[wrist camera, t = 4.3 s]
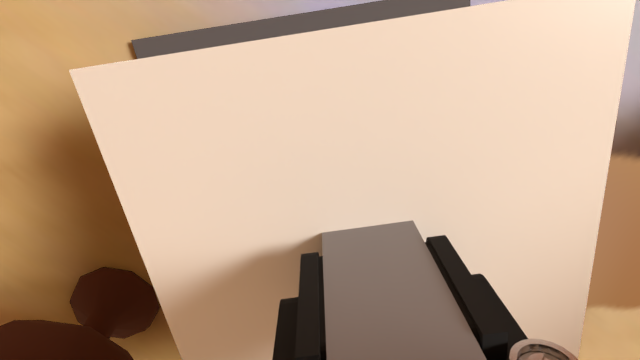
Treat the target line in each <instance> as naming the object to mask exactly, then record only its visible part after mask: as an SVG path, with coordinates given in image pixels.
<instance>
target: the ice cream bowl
mask: <svg viewBox="0 0 640 360" xmlns="http://www.w3.org/2000/svg"><path fill="white" fill-rule="evenodd" d="M70 304H71V306H72V308H73V311H74V313H75V315H76V318H77V320H78V322H80V323H81V324H83V326H81V325H74V324H66V323H58V322H51V321H43V320H14V321H12V322H9V323H7V324H4V325H2V326H0V360H134V359H133V358H132V357H131V355H130V354H129V353H128V351H126V350H125V349H123V348H122V347H120V346H119V345H117V344H116V343H114V342H113V341H111V340H110V339H109V338H110V337H116V338H126V337H129V336H132V335H134V334H137V333H139V332H142V331H144V330H146V329H147V328H148V327H149V326H150V325H151V323H152V321H153V319H154V317H155V316H156V314H157V312H158V310H159V305H158V302H157V298H156V295H155V292H154V289H153V287H152V286H150V285H149V284H148V283H147V282H145V281H144V280H143V279H141V278H140V277H139V276H137V275H136V274H135V273H133V272H132V271H126V270H119V269H112V268H106V267H103V268H100V269H98V270H96V271H93V272H91V273H88V274H86V275H83V276H81V277H80V279H79V281H78V283H77V286H76V288H75V290H74V292H73V295H72V297H71V300H70Z"/></svg>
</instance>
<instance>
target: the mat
mask: <svg viewBox="0 0 640 360" xmlns="http://www.w3.org/2000/svg"><path fill="white" fill-rule="evenodd" d="M469 6H470V0H383V1H377V2H370V3H364V4H358V5H351V6H345V7H339V8H332V9H326V10H320V11H313V12H307V13H301V14H295V15H288V16H282V17H276V18H269V19H263V20H257V21H250V22H244V23H238V24H231V25H225V26H219V27H212V28H206V29H200V30H193V31H187V32H181V33H174V34H168V35H162V36H156V37H149V38H143V39H137V40H131V41H132V44H133V47H134V50H135V54H136V57H137V59H141V58H147V57H154V56H160V55H166V54H173V53H179V52H185V51H192V50H198V49H204V48H211V47H217V46H223V45H229V44H236V43H242V42H248V41H255V40H261V39H267V38H274V37H280V36H286V35H293V34H299V33H305V32H312V31H318V30H324V29H331V28H337V27H343V26H349V25H356V24H362V23H368V22H375V21H381V20H387V19H394V18H400V17H406V16H413V15H419V14H425V13H432V12H438V11H444V10H451V9H457V8H463V7H469Z"/></svg>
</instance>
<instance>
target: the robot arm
mask: <svg viewBox="0 0 640 360" xmlns="http://www.w3.org/2000/svg"><path fill="white" fill-rule="evenodd" d="M425 244H426V246H427V248H428V250H429V252H430V253H431V255H432V257H433V259H434V261H435V263H436V265H437V267H438V269H439V270H440V272H441V274H442V276H443V278H444V280H445V282H446V284H447V286H448V287H449V289H450V291H451V293H452V295H453V297H454V299H455V301H456V303H457V304H458V306H459V308H460V310H461V312H462V314H463V316H464V318H465V320H466V321H467V323H468V325H469V327H470V329H471V331H472V333H473V335H474V337H475V338H476V340H477V342H478V344H479V346H480V348H481V350H482V352H483V354H484V355H485V357H486V359H487V360H578V359H577V358H576V357H575V356H574V355H573V354H572V353H571V352H569V351H568V350H567V349H565V348H564V347H562V346H559V345H557V344H555V343H553V342H550V341H546V340H542V339H528V338H527V336H526V335H525V333H524V332H523V331H522V329H521V328H520V326H519V325H518V323H517V322H516V321H515V319H514V318H513V316H512V315H511V313H510V312H509V311H508V309H507V308H506V306H505V305H504V303H503V302H502V301H501V299H500V298H499V296H498V295H497V293H496V292H495V291H494V289H493V288H492V286H491V285H490V283H489V282H488V281H487V279H486V278H485V277H484V276H483V275H482V274H472V275H471V273H470V272H469V270H468V269H467V267H466V266H465V264H464V263H463V261H462V259H461V258H460V256H459V255H458V253H457V252H456V250H455V249H454V247H453V246H452V244H451V243H450V241H449V240H448V238H447V237H446V235H441V236H433V237H427V238H426V242H425ZM272 360H327V356H326V330H325V304H324V278H323V256H319V253H318V252H313V253H306V254H301V261H300V278H299V295H298V297H294V298H286V299H281V300H280V304H279V311H278V319H277V327H276V335H275V342H274V350H273V358H272Z"/></svg>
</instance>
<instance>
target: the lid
mask: <svg viewBox="0 0 640 360" xmlns="http://www.w3.org/2000/svg"><path fill="white" fill-rule="evenodd" d="M635 1H636V0H507V1H501V2H495V3H488V4H482V5H476V6H469V7H463V8H457V9H451V10H444V11H438V12H432V13H425V14H419V15H413V16H406V17H400V18H394V19H387V20H381V21H375V22H368V23H362V24H356V25H349V26H343V27H337V28H331V29H324V30H318V31H312V32H305V33H299V34H293V35H286V36H280V37H274V38H267V39H261V40H255V41H248V42H242V43H236V44H229V45H223V46H217V47H211V48H204V49H198V50H192V51H185V52H179V53H173V54H166V55H160V56H154V57H147V58H141V59H135V60H128V61H122V62H116V63H109V64H103V65H97V66H91V67H84V68H78V69H72V70H69V72H70V74H71V77H72V79H73V82H74V84H75V87H76V90H77V92H78V95H79V97H80V100H81V102H82V105H83V107H84V110H85V113H86V115H87V118H88V120H89V123H90V125H91V128H92V131H93V133H94V136H95V138H96V141H97V143H98V146H99V149H100V151H101V154H102V156H103V159H104V161H105V164H106V166H107V169H108V172H109V174H110V177H111V179H112V182H113V184H114V187H115V190H116V192H117V195H118V197H119V200H120V202H121V205H122V207H123V210H124V213H125V215H126V218H127V220H128V223H129V225H130V228H131V231H132V233H133V236H134V238H135V241H136V243H137V246H138V249H139V251H140V254H141V256H142V259H143V261H144V264H145V266H146V269H147V272H148V274H149V277H150V279H151V282H152V284H153V287H154V290H155V292H156V295H157V297H158V300H159V302H160V305H161V308H162V310H163V313H164V315H165V318H166V320H167V323H168V325H169V328H170V331H171V333H172V336H173V338H174V341H175V343H176V346H177V349H178V351H179V354H180V356H181V359H182V360H272V358H273V350H274V342H275V335H276V327H277V319H278V311H279V304H280V300H281V299H286V298H294V297H298V295H299V278H300V261H301V254H306V253H313V252H318V253H319V256H323V278H324V304H325V330H326V356H327V360H487V359H486V357H485V355H484V354H483V352H482V350H481V348H480V346H479V344H478V342H477V340H476V338H475V337H474V335H473V333H472V331H471V329H470V327H469V325H468V323H467V321H466V320H465V318H464V316H463V314H462V312H461V310H460V308H459V306H458V304H457V303H456V301H455V299H454V297H453V295H452V293H451V291H450V289H449V287H448V286H447V284H446V282H445V280H444V278H443V276H442V274H441V272H440V270H439V269H438V267H437V265H436V263H435V261H434V259H433V257H432V255H431V253H430V252H429V250H428V248H427V246H426V244H425V242H426V238H427V237H433V236H441V235H446V237H447V238H448V240H449V241H450V243H451V244H452V246H453V247H454V249H455V250H456V252H457V253H458V255H459V256H460V258H461V259H462V261H463V263H464V264H465V266H466V267H467V269H468V270H469V272H470V273H471V275H472V274H482V275H483V276H484V277H485V278H486V279H487V281H488V282H489V283H490V285H491V286H492V288H493V289H494V291H495V292H496V293H497V295H498V296H499V298H500V299H501V301H502V302H503V303H504V305H505V306H506V308H507V309H508V311H509V312H510V313H511V315H512V316H513V318H514V319H515V321H516V322H517V323H518V325H519V326H520V328H521V329H522V331H523V332H524V333H525V335H526V336H527V338H528V339H542V340H546V341H550V342H553V343H555V344H557V345H559V346H562V347H564V348H565V349H567V350H568V351H569V352H571V353H572V354H573V355H574V356H575V357H576V358H577V359H578V355H579V349H580V342H581V336H582V330H583V324H584V317H585V311H586V305H587V299H588V293H589V286H590V280H591V274H592V268H593V261H594V255H595V249H596V243H597V237H598V231H599V224H600V218H601V212H602V206H603V200H604V192H605V187H606V181H607V175H608V169H609V162H610V156H611V150H612V144H613V138H614V131H615V125H616V119H617V113H618V107H619V100H620V94H621V88H622V82H623V76H624V69H625V63H626V57H627V51H628V45H629V38H630V32H631V26H632V20H633V13H634V7H635Z"/></svg>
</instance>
